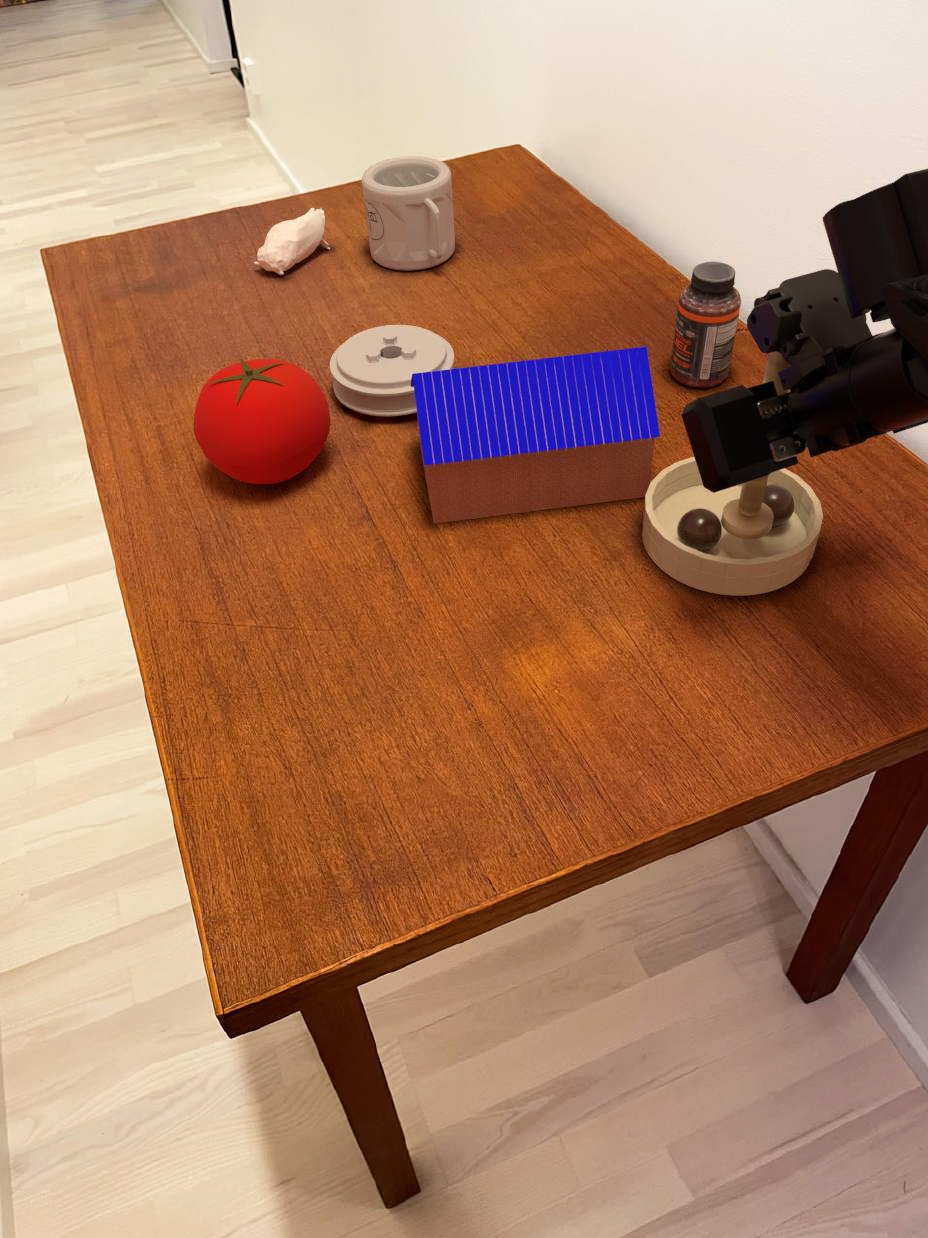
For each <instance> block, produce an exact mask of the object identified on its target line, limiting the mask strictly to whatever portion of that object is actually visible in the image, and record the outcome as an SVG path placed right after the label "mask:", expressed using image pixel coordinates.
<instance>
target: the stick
mask: <svg viewBox="0 0 928 1238" xmlns="http://www.w3.org/2000/svg"><path fill="white" fill-rule="evenodd" d="M790 366H791V365H790V364H789V363H788V362H787V361H786V360H785V359H784V358H783V356H782V355H781V353H779V352H772V353H768V356H767V361H766V366H765V371H764V376H763V381H762V384H763V383H767V382H770V381H774V384H775V388H776V391H777V394H778V396H779V395H782V394H785V393H788V392H789V390H784V389H783V387H782V384H781V381H780V377H779V374H778V372H780V371H782V370H784V369H786V368H788V367H790ZM768 476H769V475H767V476H764V477H761V478H758V479H755V480H752V481H749V482H746V483H743V484H742V489H741V494H740V498H739V499H735V500H732V501H730V502H729V503H727V504H726V505H725V507H724V508H723V512H722V517H721V524H722V526H723V528H724V529H725V530H726V531H727V532H728V533H729V534H731V535H733V536H735V537H738V538H742V539H757V538H761V537H763V536H765V535H766V534H768V533H769V532H770V530H771V527H772V523H773V519H774V515H773V512H772V510H771V509H770V508H769V507H768V506H767V505H766V504H764V503H763V498H764V494H765V490H766V485H767V481H768Z"/></svg>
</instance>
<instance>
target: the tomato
mask: <svg viewBox="0 0 928 1238" xmlns="http://www.w3.org/2000/svg"><path fill="white" fill-rule="evenodd" d="M330 431H331V414H330V406H329V402H328V400H327V398H326V395H325V392H324V390H323V389H322V387H321V386H320V385H319V383H318V382H317V381H316V379H315V378H313V376H312V375H311V374H309V373H308V372H307V371H305V369H303V368H302V367H301V366H299V365H297V364H295V363H292V362H290V361H286V360H282V359H275V358H274V359H273V358H258V359H257V358H256V359H247V360H244V359H243V358H242V357H240V361H238V362H235V363H232V364H230V365H227V366H225V367H223V368H221V369H220V370H218V371H216V372H215V373H214V374H213V375H212V376H211V377H210V378H208V379H207V381H206V382H205V383H204V385H203V386H202V387H201V389H200V391H199V396H198V398H197V400H196V404H195V409H194V413H193V434H194V437H195V440H196V443H197V445H198V446H199V448H200V449H201V451H202V453H203V455H204V456H205V458H206V459H207V460H208V461H209V462H210V463H211V465H213V466H214V467H215V468H217V470H219V471H220V472H222V473H224V474H225V475H227V476H229V477H231V478H233V479H234V480H237V481H238V482H239V481H240V482H242V483H247V484H251V485H275V484H279V483H282V482H285V481H288V480H290V479H292V478H294V477H295V476H298V475H299V474H301V472H303V471H304V470H306V469H307V468H308V467H309V466H310V465H311V464H312V462H313V461H315V459H316V458H317V457H318V455H319V454H320V453H321V452H322V450H323V448H324V446H325V444H326V443H327V440H328V437H329V435H330Z"/></svg>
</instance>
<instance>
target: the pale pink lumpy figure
mask: <svg viewBox="0 0 928 1238" xmlns="http://www.w3.org/2000/svg"><path fill="white" fill-rule="evenodd" d="M325 227H326V215H325V210H324V209H323V208H322V207H320V208H316V209H315V208H314V207H311V208H310V209H309V210H308V211H307V212H306V213H304V215H301V216H299V217H296V218H294V219H289V220H284V221H283V220H282V221H280V222H279V223H275V224H274V225H273V226H272V227H271V228H270V230H269V231H268V232H267V234H266V237H265V239H264V243H263V245H262V246H260V247H259V248H258V249H257V253H256V255H257V256H256V257H257V261H254V262H253V264H254V265H256V266H259V267H261V268H263V269H264V270H265V271H266V272H274V273H276V274H278V275H280V276H283V275H285V273H284V272H286V271H288V270H290V269H291V268H292V267H294V266H295V264H298V263H299V264H300V262H302V261H303V260H306V258H308V257H309V256H310V255H312V254H313V253H314V252H315V250H316V249H317V248H318V246H319V247H320V245H321V246H322V248H323V249H327V250H328V251H330V250H331V247H329V246H330V245H329V243H328V242H327V241H326V240H325V239H324V237H323V236H324V233H325Z"/></svg>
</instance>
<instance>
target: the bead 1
mask: <svg viewBox="0 0 928 1238" xmlns="http://www.w3.org/2000/svg"><path fill="white" fill-rule="evenodd" d="M721 535H722V525H721V522H720V520H719V518H718V517H717V516H716V515H715V514H714V513H713V512H712V511H710V510H707V509H703V508H697V509H693V510H690V511H688V512H687V513H685V514H684V515H683V516H682V517H681V519H680V521H679V523H678V526H677V536H678V539H679V541H680V542H681V543H683V544H684V545H686V546H688V547H691V548H693V549H695V550H698V551H700V552H705V551H708V550H710V549H712V548H713V547H714V546H715V545H716V544H717V543H718V542H719V540H720V538H721Z"/></svg>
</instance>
